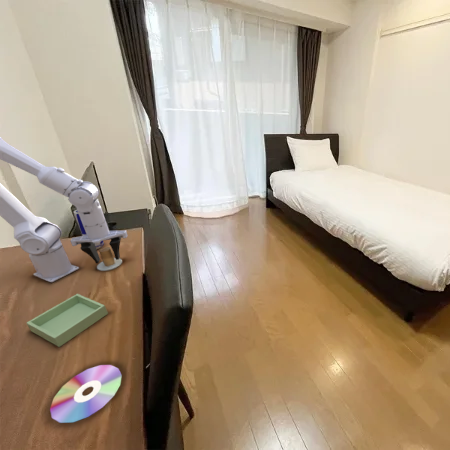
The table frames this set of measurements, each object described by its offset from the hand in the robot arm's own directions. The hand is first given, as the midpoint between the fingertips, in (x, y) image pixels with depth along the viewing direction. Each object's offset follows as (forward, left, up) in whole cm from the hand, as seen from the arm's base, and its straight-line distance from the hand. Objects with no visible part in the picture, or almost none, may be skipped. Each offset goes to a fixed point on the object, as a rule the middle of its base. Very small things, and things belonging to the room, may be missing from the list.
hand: (108, 259), depth 89 cm
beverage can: (-16, +6, -2) cm, 17 cm away
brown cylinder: (0, 0, -2) cm, 2 cm away
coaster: (0, 0, -2) cm, 2 cm away
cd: (+37, -30, -2) cm, 48 cm away
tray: (+16, -20, -2) cm, 26 cm away
